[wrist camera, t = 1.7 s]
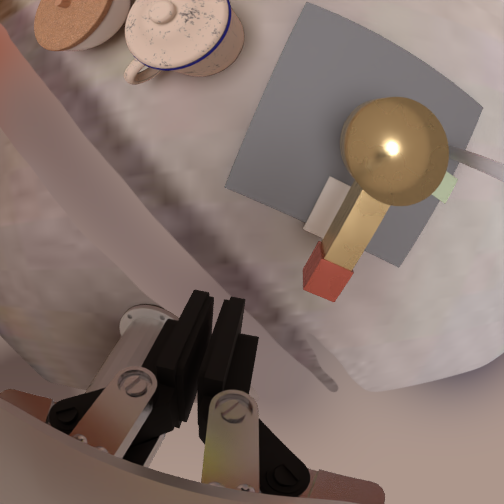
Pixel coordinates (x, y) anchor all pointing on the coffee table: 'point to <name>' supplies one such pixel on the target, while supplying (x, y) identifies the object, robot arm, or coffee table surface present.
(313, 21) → the plate
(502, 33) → the coffee table surface
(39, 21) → the lidded jar
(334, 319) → the coffee table surface
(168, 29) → the teacup with lid
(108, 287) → the coffee table surface
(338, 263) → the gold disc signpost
